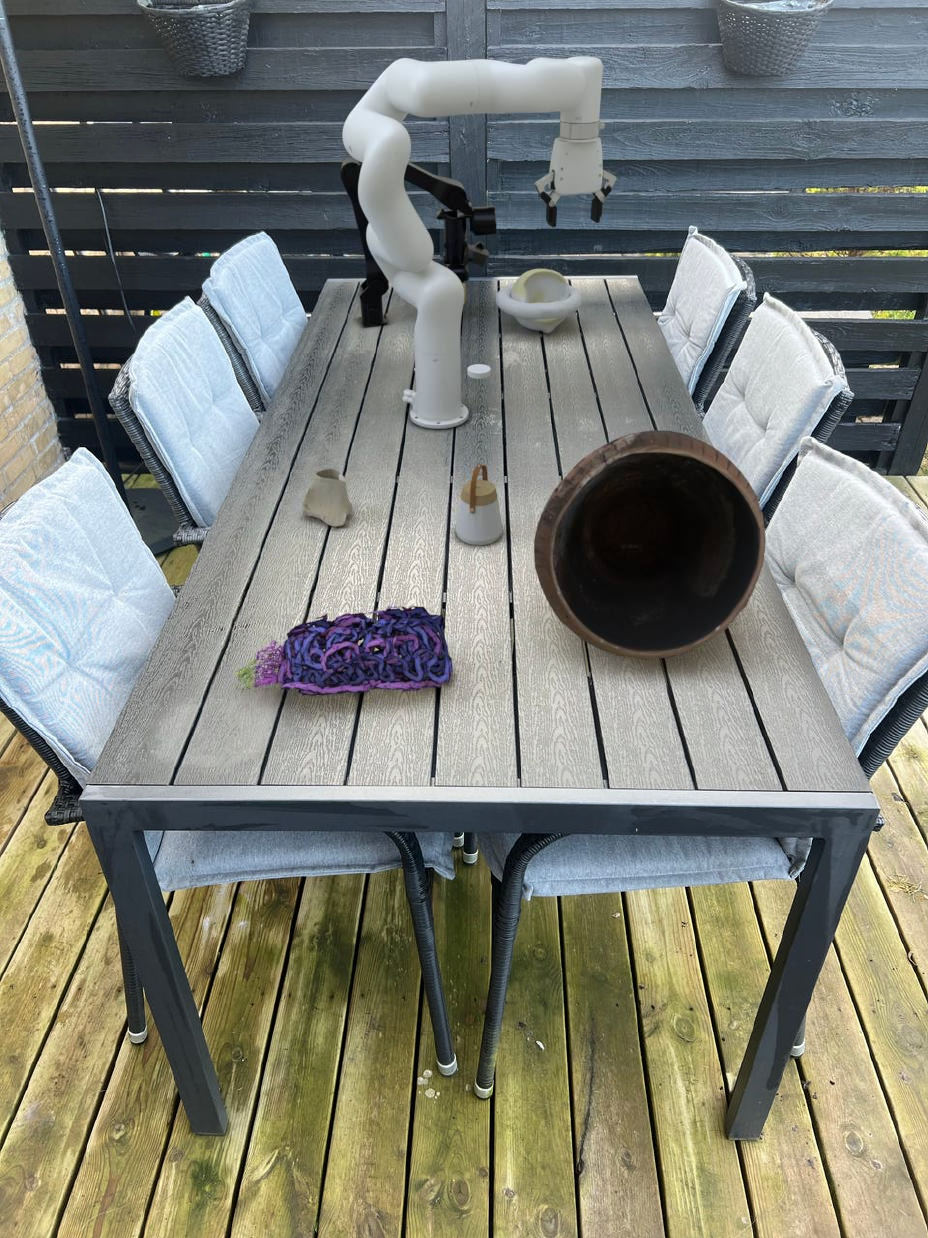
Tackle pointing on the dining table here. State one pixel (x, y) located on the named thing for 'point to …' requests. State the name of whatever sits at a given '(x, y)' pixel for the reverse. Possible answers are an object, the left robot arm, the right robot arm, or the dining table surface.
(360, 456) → the dining table surface
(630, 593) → the pot
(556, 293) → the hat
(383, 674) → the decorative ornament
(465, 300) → the tin
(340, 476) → the beige irregular piece
